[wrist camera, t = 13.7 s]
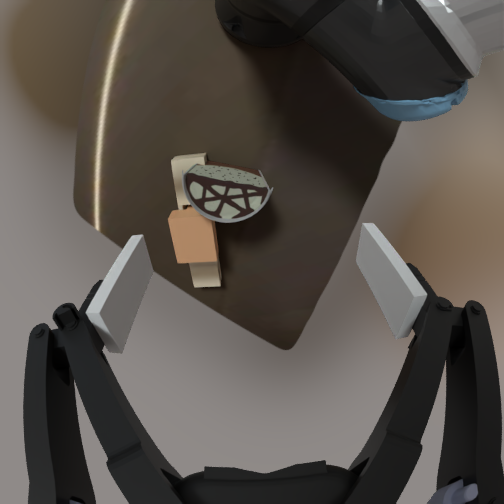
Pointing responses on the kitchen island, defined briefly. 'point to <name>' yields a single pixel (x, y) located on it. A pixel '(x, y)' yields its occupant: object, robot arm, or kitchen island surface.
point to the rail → (201, 271)
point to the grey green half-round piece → (225, 191)
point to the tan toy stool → (193, 236)
